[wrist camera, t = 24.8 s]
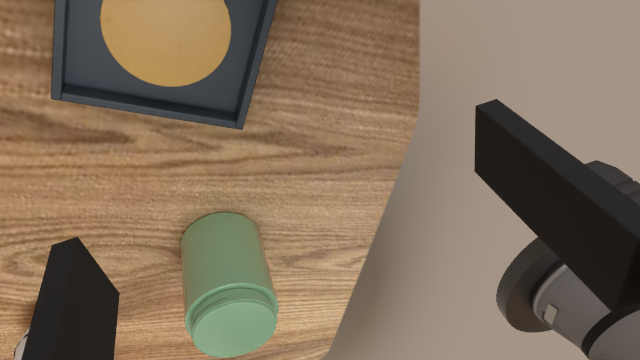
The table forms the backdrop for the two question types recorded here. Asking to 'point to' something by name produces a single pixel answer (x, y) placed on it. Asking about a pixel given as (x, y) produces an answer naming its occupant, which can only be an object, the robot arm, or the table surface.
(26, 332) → the seamed sphere
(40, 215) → the table surface
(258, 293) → the jar
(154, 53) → the lid
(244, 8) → the dish
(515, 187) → the robot arm
